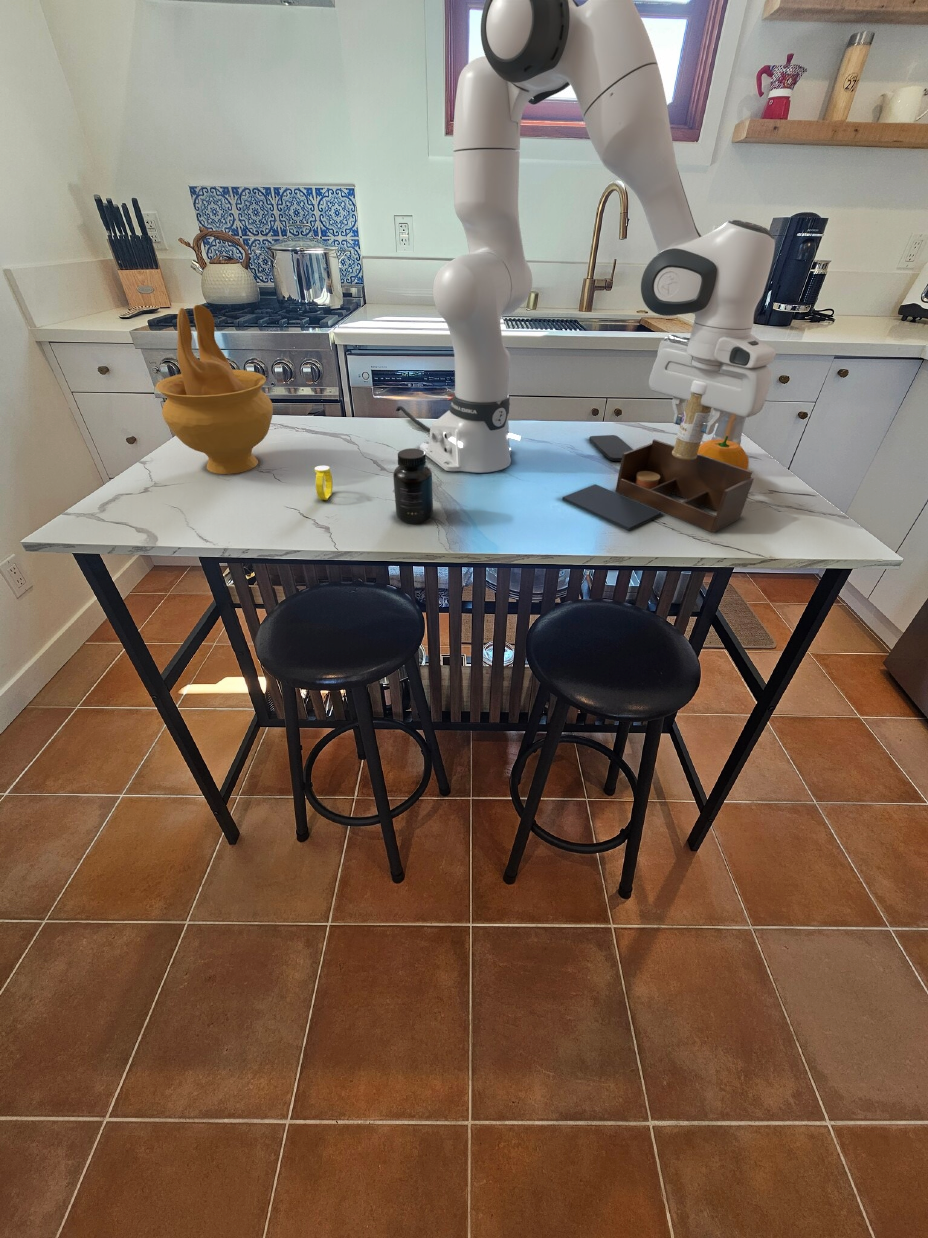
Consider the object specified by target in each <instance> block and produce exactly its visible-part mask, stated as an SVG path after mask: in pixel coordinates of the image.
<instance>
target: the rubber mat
mask: <svg viewBox="0 0 928 1238" xmlns="http://www.w3.org/2000/svg"><path fill="white" fill-rule="evenodd" d="M561 500H562V501H564V502H566V503H568V504H571V505H573V506H575V507H576V508H579V509H581V510H583V511H585V512H587V513H590V514H592V515H594V516H596V517H598V518H601V519H602V520H604V521H607V522H609V523H610V524H613V525H616V526H618V527H620V528H621V529H624V530H626V531H629V532H630V531H631V530H633V529H636V528H637V527H640V526H641V525H644V524H646V523H648V522H650V521H653V520H654V519H657V518H658V517H661V516H662V514H663V512H662V511H660V510H658V509H655V508H653V507H650V506H648V505H646V504H643V503H641V502H639V501H636V500H634V499H631V498H629V497H627V496H624V495H622V494H620V493H617V492H615V491H612V490H610V489H607V488H606V487H603V486H601V485H598V484H596V483H595V484H593V485H590V486H587V487H585V488H582V489H579V490H577V491H575V492H572V493H569V494H567V495H564V496H562V499H561Z"/></svg>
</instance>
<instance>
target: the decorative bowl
mask: <svg viewBox="0 0 928 1238" xmlns="http://www.w3.org/2000/svg"><path fill="white" fill-rule="evenodd" d="M192 310H193V311H192V312H193V318H194V323H195V327H196V340H197V347H198V354H199V359H198V357H196V355H195V354H194V352H193V347H192V341H193V333H192V327H191V322H190V319H189V316H188V313H187V311H186V309H185V307H180V308H179V310H178V313H177V317H176V327H177V329H176V330H177V342H176V343H177V347H176V348H177V349H176V352H177V353H176V354H177V363H178V367H179V371H180V373H179V374H175V375H173V376H172V375H171V376H169V377H165V378H164V379H162V380H159V381H158V382H157V384H156V385H155V389H156V390H157V391H158V392H160V393H161V394H162V395H163V396H165V397H166V400H165V402H164V403H163V406H162V411H161V415H162V417H163V420H164V422H165V424H166V425H167V427H168V428H169V429H170V430H171V431H172V433H173V434H174V435H175V437H177V438H178V439H179V441H181V442H182V444H183V445H185V446H187V447H188V448H190V449H192V450H193V451H196V452H199V453H203V454H205V455H206V456H207V458H208V460H207V464H206V469H207V471H208V472H211V473H213V474H219V475H231V474H239V473H244V472H247V471H250V470H252V469H254V468H256V467H257V465H258V464H259V460H258V459H257V458H256V457H255V455H254V454H253V449H254V448H255V447H256V446H258V445H259V444H260V443H261V442H262V441H264V439H265V438H266V436H267V435H268V433H269V431H270V427H271V423H272V420H273V414H274V406H273V402H272V400H271V399H270V397H269V396H268V395H267V394H266V393H265V392H264V391H262V388H263V386H264V385H265V383H266V381H267V377H266V376H265V375H264V374H261V373H259V372H256V371H252V370H245V369H232V366H231V364H230V362H229V360H228V358H227V357H226V355H225V354H224V352H223V350H222V349H221V347H220V346H219V344H218V343H217V340H216V337H215V329H216V328H215V327H216V324H215V323H216V322H215V320H214V317H213V316H214V315H213V314H212V312H211V311H210V310H209V309H208V308H207V307H206V306H203V304H195V305H194V306H193V309H192Z"/></svg>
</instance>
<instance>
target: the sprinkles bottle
mask: <svg viewBox="0 0 928 1238" xmlns="http://www.w3.org/2000/svg"><path fill="white" fill-rule="evenodd" d="M706 389H707V384H706V383H703V382H700V381H693V383H692V386H691V391H692V392H693V393H691V397H690V400H689V401H686V405H685V408H684V410H683V412H684V414H683V417H682V421H681V424H680V425H679V429H678V432H677V435H676V439H675V443H674V445H673V446H674V450H673V451H672V455H673V456H674V457H676V458H678V459H683V460H693V459H696V458H697V453H698V450H699V447H700V445H701V444H702V441H703V439H704V435H705V434H704V433H701V429H702V425H703V423H704V422H707V421H709V419H710V415H711V413H712V408H711V407H707V406H704V405H702V404H701V398H702V395H705V392H706Z"/></svg>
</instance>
